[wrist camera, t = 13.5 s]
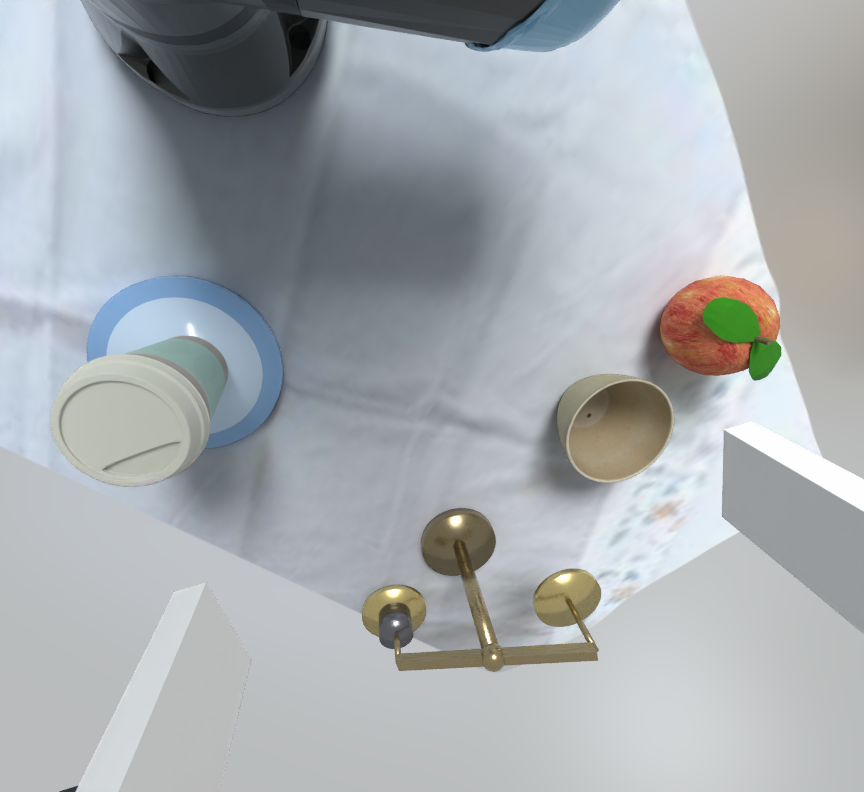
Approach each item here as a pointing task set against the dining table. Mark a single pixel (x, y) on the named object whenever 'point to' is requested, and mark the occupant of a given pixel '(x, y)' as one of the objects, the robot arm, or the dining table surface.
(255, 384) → the dish
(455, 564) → the balance
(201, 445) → the coffee cup
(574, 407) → the flower pot
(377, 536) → the dining table surface
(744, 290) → the fruit
